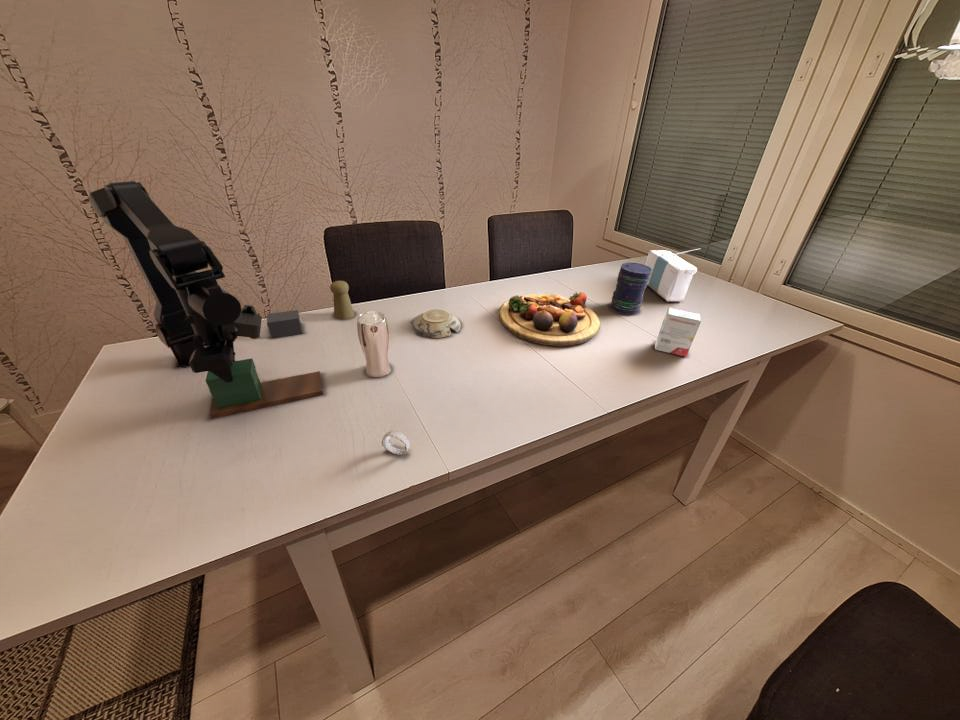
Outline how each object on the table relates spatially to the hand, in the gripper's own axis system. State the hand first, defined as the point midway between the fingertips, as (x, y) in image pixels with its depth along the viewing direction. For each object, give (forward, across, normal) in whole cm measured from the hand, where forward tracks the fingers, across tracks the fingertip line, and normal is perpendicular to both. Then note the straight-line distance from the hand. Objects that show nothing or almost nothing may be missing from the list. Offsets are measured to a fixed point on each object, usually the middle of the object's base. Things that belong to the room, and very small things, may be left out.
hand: (231, 373), depth 77 cm
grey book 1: (+5, +29, -10) cm, 31 cm away
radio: (+8, +15, -142) cm, 143 cm away
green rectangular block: (+1, 0, 0) cm, 1 cm away
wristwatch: (+8, -27, -28) cm, 40 cm away
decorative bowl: (+8, +18, -51) cm, 55 cm away
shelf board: (+7, 0, -6) cm, 9 cm away
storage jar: (+8, +8, -117) cm, 118 cm away
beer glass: (+8, +1, -30) cm, 31 cm away
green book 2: (+6, 0, 0) cm, 6 cm away
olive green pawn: (+8, +34, -26) cm, 43 cm away
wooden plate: (+8, +9, -86) cm, 87 cm away
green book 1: (+4, 0, 0) cm, 4 cm away
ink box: (+8, -18, -111) cm, 113 cm away
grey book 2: (+7, +29, -10) cm, 31 cm away
